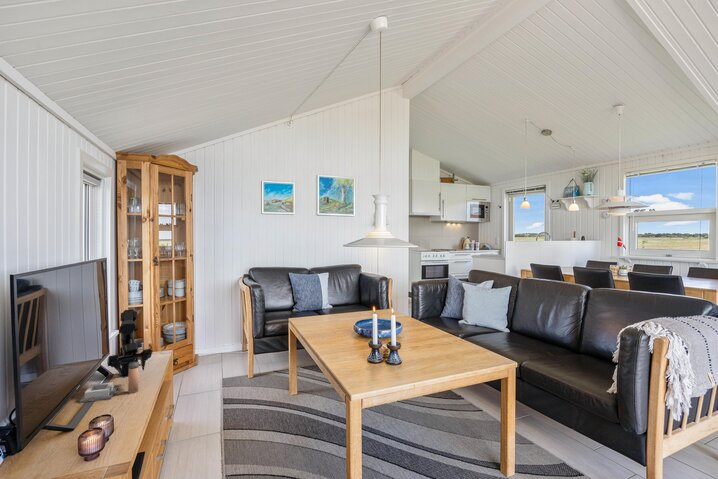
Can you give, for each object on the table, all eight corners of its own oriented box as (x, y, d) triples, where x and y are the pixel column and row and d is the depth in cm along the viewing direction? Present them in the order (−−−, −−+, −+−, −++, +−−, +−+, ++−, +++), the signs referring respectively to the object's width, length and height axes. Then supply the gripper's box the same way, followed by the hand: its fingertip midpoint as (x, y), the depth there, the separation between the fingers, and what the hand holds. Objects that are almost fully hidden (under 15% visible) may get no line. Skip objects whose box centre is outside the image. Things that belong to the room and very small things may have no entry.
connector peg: (126, 392, 173) (126, 363, 173) (135, 388, 177) (135, 361, 176) (130, 394, 171) (131, 365, 171) (139, 391, 174) (140, 363, 174)
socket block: (88, 392, 172) (88, 383, 172) (117, 388, 176) (117, 380, 176) (79, 403, 161) (79, 394, 161) (110, 399, 165) (111, 390, 165)
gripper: (108, 339, 172) (112, 368, 164) (151, 333, 185) (157, 359, 177) (105, 351, 177) (109, 380, 170) (147, 344, 190) (152, 370, 182)
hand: (132, 372), depth 174 cm, fingers open, 9 cm apart
